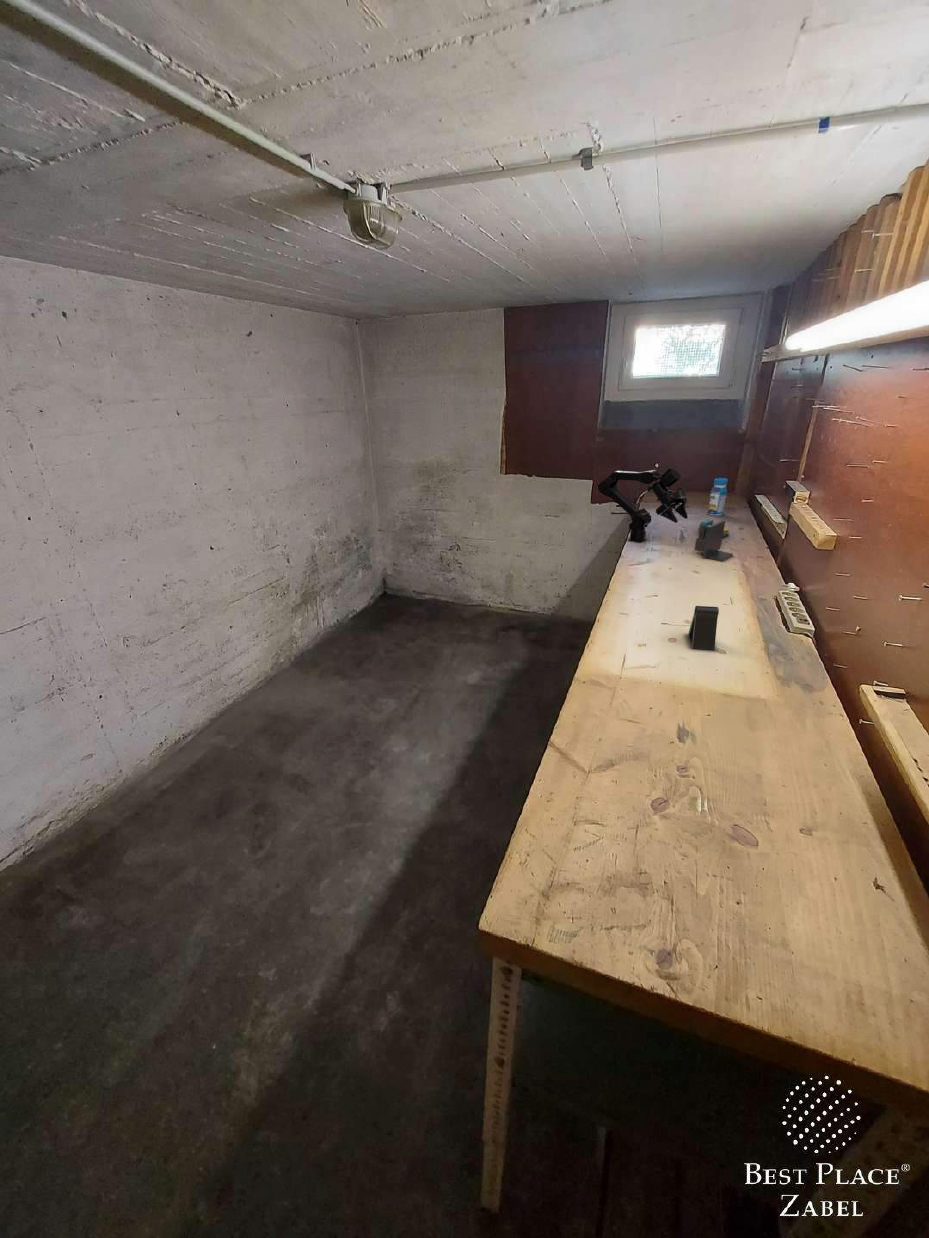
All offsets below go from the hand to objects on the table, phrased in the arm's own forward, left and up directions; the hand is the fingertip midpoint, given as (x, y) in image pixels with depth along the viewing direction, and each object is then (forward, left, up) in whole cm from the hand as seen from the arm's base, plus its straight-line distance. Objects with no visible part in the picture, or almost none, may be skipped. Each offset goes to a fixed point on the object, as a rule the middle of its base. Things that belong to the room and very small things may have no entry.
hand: (681, 520), depth 223 cm
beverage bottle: (-6, +74, -14) cm, 75 cm away
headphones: (+11, -1, -12) cm, 16 cm away
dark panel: (+15, -2, -14) cm, 21 cm away
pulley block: (+7, +27, -14) cm, 31 cm away
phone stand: (+40, -86, -14) cm, 96 cm away
